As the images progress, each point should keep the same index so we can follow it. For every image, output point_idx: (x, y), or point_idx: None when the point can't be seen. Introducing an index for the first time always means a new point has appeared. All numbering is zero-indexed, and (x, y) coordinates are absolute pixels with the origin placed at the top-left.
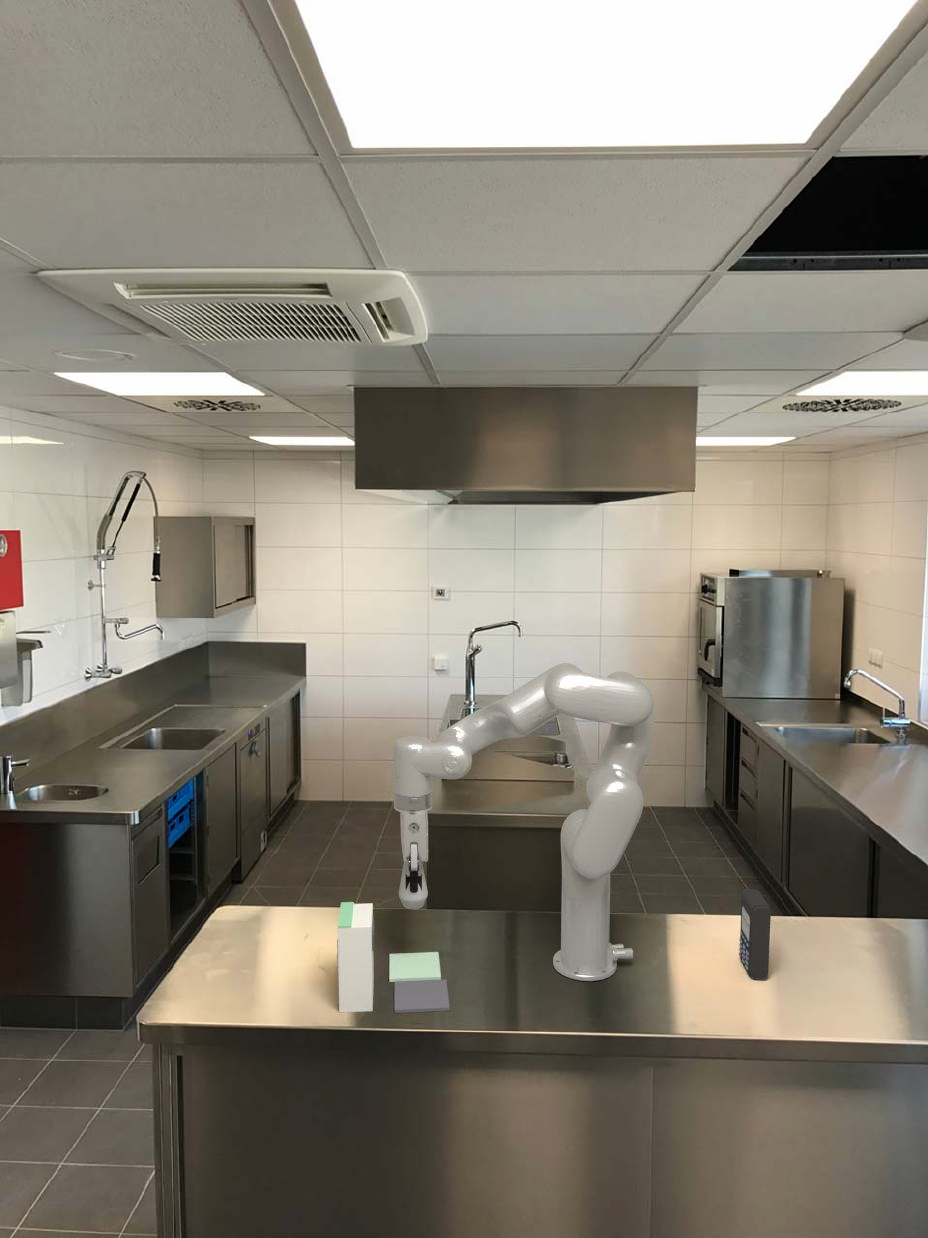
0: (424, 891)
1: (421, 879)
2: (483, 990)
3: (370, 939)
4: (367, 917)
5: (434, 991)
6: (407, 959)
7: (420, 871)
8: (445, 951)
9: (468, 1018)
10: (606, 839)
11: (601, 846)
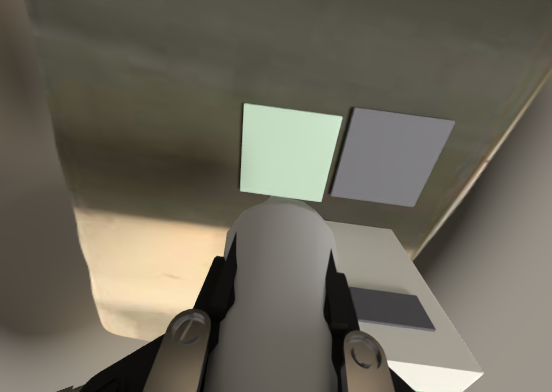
0: (320, 236)
1: (342, 302)
2: (416, 27)
3: (460, 339)
4: (420, 371)
5: (388, 138)
6: (264, 166)
7: (391, 379)
8: (231, 84)
9: (496, 88)
10: None
11: None
